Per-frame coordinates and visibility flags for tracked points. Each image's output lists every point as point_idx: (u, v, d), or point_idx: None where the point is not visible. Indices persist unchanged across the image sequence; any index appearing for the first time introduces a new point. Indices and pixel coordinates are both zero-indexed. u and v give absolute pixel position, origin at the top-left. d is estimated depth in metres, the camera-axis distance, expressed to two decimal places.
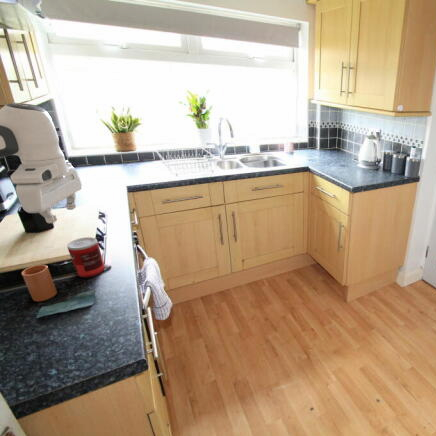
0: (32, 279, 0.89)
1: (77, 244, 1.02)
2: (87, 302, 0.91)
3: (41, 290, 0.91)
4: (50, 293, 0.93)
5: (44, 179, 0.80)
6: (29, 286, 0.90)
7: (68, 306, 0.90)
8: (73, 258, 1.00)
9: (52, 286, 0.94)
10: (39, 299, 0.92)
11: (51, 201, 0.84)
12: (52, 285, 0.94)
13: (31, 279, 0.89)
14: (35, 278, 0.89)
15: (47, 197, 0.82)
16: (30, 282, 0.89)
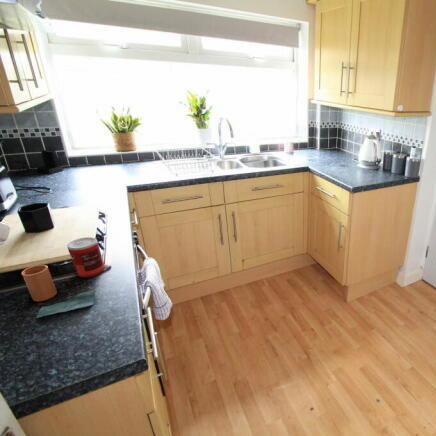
0: (32, 279, 0.89)
1: (77, 244, 1.02)
2: (87, 302, 0.91)
3: (41, 290, 0.91)
4: (50, 293, 0.93)
5: None
6: (29, 286, 0.90)
7: (68, 306, 0.90)
8: (73, 258, 1.00)
9: (52, 286, 0.94)
10: (39, 299, 0.92)
11: None
12: (52, 285, 0.94)
13: (31, 279, 0.89)
14: (35, 278, 0.89)
15: None
16: (30, 282, 0.89)
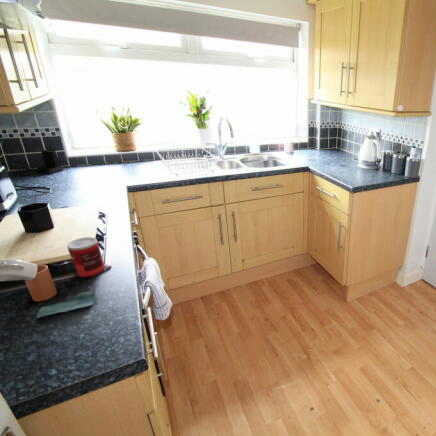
0: (32, 279, 0.89)
1: (77, 244, 1.02)
2: (87, 302, 0.91)
3: (41, 290, 0.91)
4: (50, 293, 0.93)
5: None
6: (29, 286, 0.90)
7: (68, 306, 0.90)
8: (73, 258, 1.00)
9: (52, 286, 0.94)
10: (39, 299, 0.92)
11: None
12: (52, 285, 0.94)
13: (31, 279, 0.89)
14: (35, 278, 0.89)
15: None
16: (30, 282, 0.89)
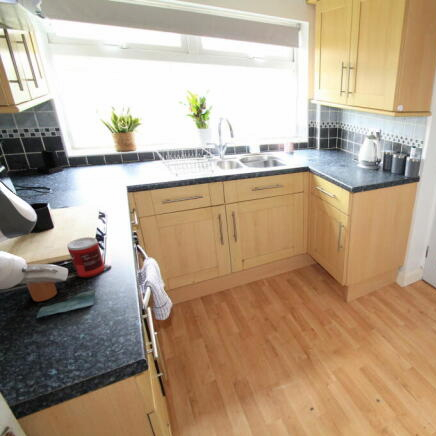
0: None
1: (77, 244, 1.02)
2: (87, 302, 0.91)
3: (41, 290, 0.91)
4: (50, 293, 0.93)
5: None
6: (29, 286, 0.90)
7: (68, 306, 0.90)
8: (73, 258, 1.00)
9: (52, 286, 0.94)
10: (39, 299, 0.92)
11: None
12: (52, 285, 0.94)
13: None
14: None
15: None
16: None
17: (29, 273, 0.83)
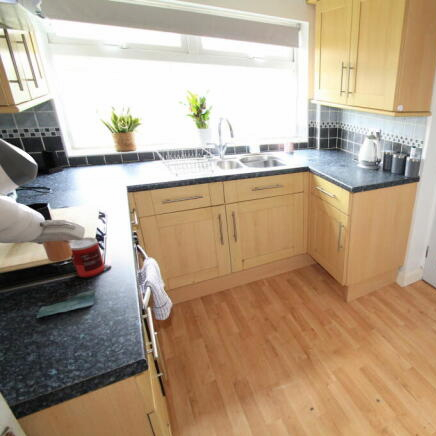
0: None
1: (77, 244, 1.02)
2: (87, 302, 0.91)
3: (58, 250, 0.90)
4: (66, 253, 0.92)
5: None
6: (46, 245, 0.89)
7: (68, 306, 0.90)
8: (73, 258, 1.00)
9: (68, 247, 0.93)
10: (55, 259, 0.91)
11: None
12: (68, 246, 0.93)
13: None
14: None
15: None
16: (47, 241, 0.88)
17: (47, 228, 0.81)
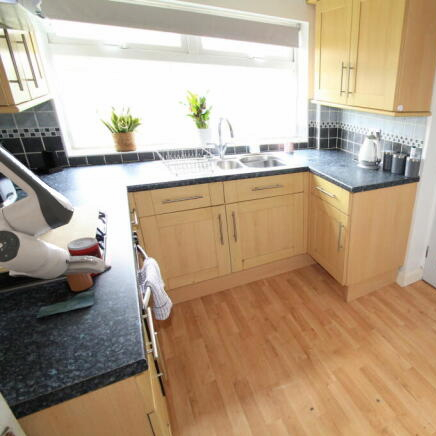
0: None
1: (77, 244, 1.02)
2: (87, 302, 0.91)
3: (80, 280, 0.96)
4: (87, 283, 0.98)
5: (18, 276, 0.84)
6: (69, 277, 0.95)
7: (68, 306, 0.90)
8: None
9: (89, 277, 0.99)
10: (77, 289, 0.97)
11: None
12: (89, 276, 0.99)
13: None
14: None
15: None
16: None
17: (72, 264, 0.87)
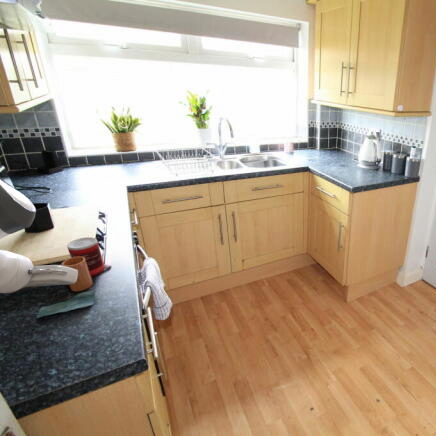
0: None
1: (77, 244, 1.02)
2: (87, 302, 0.91)
3: (80, 280, 0.96)
4: (87, 283, 0.98)
5: None
6: None
7: (68, 306, 0.90)
8: None
9: (89, 277, 0.99)
10: (77, 289, 0.97)
11: None
12: (89, 276, 0.99)
13: None
14: None
15: None
16: None
17: (36, 275, 0.74)
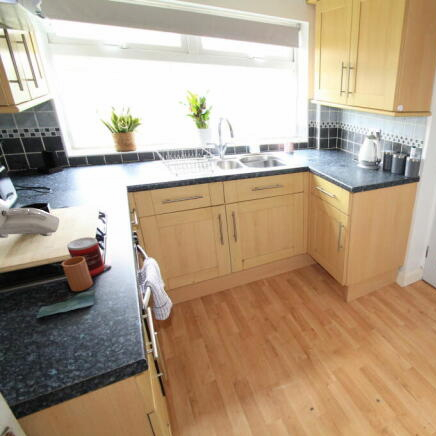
0: (72, 270, 0.94)
1: (77, 244, 1.02)
2: (87, 302, 0.91)
3: (80, 280, 0.96)
4: (87, 283, 0.98)
5: None
6: (69, 277, 0.95)
7: (68, 306, 0.90)
8: None
9: (89, 277, 0.99)
10: (77, 289, 0.97)
11: None
12: (89, 276, 0.99)
13: (71, 270, 0.94)
14: (75, 269, 0.94)
15: None
16: (70, 273, 0.94)
17: (11, 218, 0.68)
